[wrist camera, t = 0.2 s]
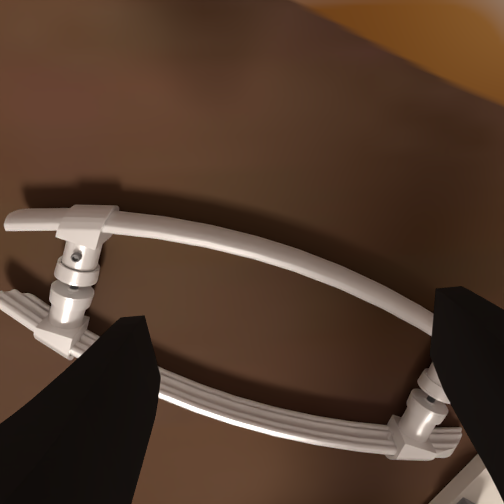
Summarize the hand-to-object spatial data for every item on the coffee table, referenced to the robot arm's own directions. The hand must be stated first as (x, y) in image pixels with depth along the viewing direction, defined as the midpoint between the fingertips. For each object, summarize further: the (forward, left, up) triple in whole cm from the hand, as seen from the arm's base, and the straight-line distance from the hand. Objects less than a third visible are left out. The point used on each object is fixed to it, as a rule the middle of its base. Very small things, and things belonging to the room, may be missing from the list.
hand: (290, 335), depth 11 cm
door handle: (-5, -2, -11) cm, 12 cm away
